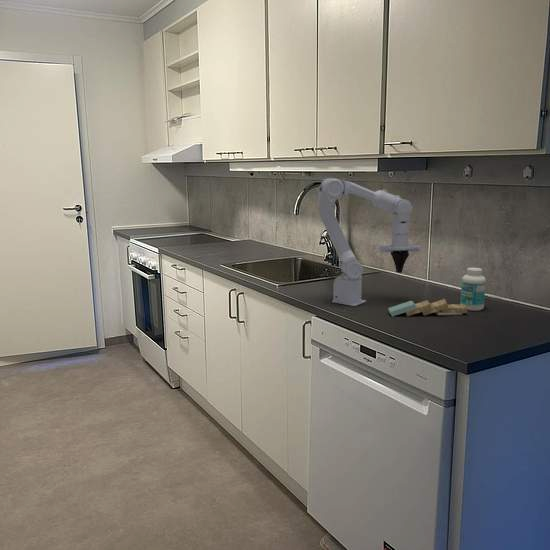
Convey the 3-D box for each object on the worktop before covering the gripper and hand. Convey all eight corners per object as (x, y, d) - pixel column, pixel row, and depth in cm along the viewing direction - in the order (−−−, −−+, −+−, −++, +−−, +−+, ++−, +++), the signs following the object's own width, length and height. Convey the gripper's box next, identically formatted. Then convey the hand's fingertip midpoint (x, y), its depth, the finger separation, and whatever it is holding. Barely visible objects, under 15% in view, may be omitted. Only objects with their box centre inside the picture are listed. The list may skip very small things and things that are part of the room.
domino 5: (442, 307, 169) (467, 308, 169) (438, 304, 174) (463, 304, 174) (441, 312, 170) (467, 312, 169) (438, 309, 174) (463, 309, 174)
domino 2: (405, 311, 169) (430, 303, 168) (403, 307, 173) (427, 300, 172) (407, 316, 169) (431, 308, 168) (404, 312, 174) (428, 304, 173)
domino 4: (438, 312, 170) (462, 312, 170) (433, 308, 174) (457, 308, 175) (437, 317, 170) (462, 316, 171) (433, 313, 175) (456, 313, 175)
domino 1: (390, 312, 169) (414, 304, 168) (387, 308, 173) (411, 300, 172) (392, 316, 169) (416, 308, 168) (389, 312, 173) (413, 305, 173)
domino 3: (422, 311, 169) (446, 302, 167) (420, 307, 174) (444, 298, 172) (423, 315, 169) (448, 307, 168) (422, 311, 174) (446, 303, 172)
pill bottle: (455, 306, 180) (457, 267, 177) (472, 304, 182) (475, 266, 179) (470, 312, 173) (473, 271, 170) (488, 310, 175) (491, 269, 173)
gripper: (383, 235, 179) (382, 275, 181) (425, 234, 180) (423, 273, 183) (377, 233, 186) (376, 271, 188) (417, 232, 187) (416, 269, 190)
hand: (398, 272), depth 186 cm, fingers closed
